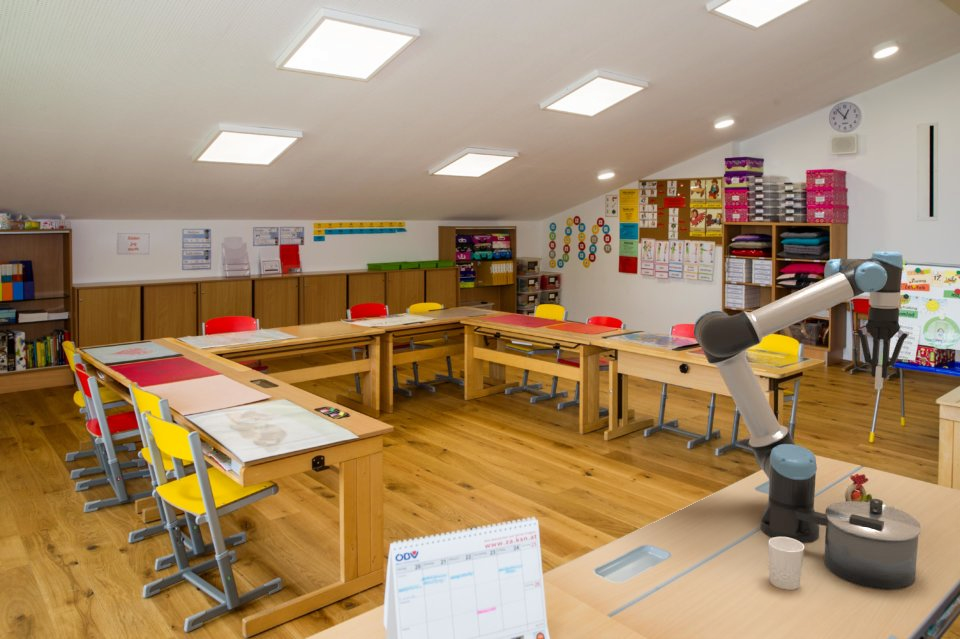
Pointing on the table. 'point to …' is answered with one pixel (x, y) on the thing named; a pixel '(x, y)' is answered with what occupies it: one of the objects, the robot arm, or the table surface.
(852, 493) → the bird rattle
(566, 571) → the table surface
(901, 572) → the cooker pot
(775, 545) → the white cup
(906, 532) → the cooker lid
